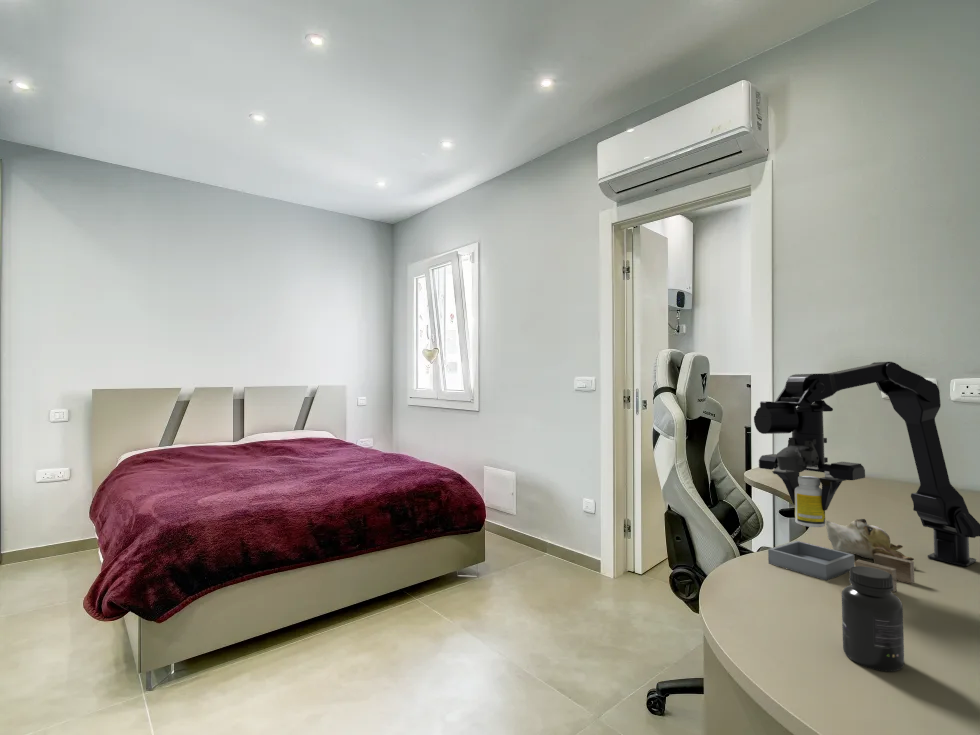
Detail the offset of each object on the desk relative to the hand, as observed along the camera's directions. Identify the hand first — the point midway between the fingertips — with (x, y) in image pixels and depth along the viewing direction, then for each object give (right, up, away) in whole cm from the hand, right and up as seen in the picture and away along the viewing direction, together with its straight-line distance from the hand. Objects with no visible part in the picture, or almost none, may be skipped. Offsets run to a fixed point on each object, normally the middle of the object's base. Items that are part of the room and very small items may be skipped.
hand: (809, 507), depth 107 cm
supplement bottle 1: (0, -4, 0) cm, 4 cm away
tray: (0, -12, 0) cm, 12 cm away
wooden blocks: (+9, -12, -9) cm, 17 cm away
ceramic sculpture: (+16, -13, +5) cm, 21 cm away
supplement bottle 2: (-14, -11, -37) cm, 41 cm away
